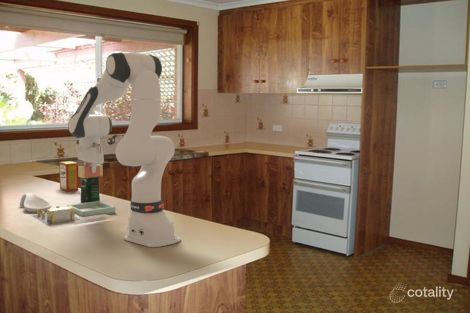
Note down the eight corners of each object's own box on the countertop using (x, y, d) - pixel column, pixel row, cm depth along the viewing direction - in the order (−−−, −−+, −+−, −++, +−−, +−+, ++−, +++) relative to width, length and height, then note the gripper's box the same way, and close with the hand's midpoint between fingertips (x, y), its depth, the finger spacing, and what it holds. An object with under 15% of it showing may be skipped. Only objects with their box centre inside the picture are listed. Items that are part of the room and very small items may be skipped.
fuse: (102, 175, 220) (102, 165, 220) (82, 178, 214) (81, 167, 213) (98, 174, 223) (98, 164, 223) (78, 176, 217) (78, 165, 216)
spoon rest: (55, 213, 219) (55, 198, 218) (29, 217, 211) (29, 201, 210) (36, 204, 236) (35, 190, 235) (11, 207, 228) (10, 192, 227)
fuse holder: (80, 221, 204) (80, 207, 203) (47, 227, 195) (47, 212, 194) (62, 213, 218) (62, 200, 217) (31, 217, 209) (30, 204, 208)
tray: (115, 213, 220) (115, 206, 220) (82, 218, 209) (82, 211, 209) (99, 206, 232) (99, 200, 231) (67, 211, 221) (67, 205, 221)
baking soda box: (78, 190, 271) (77, 162, 269) (67, 191, 267) (66, 163, 265) (70, 187, 278) (70, 160, 276) (59, 188, 274) (59, 161, 272)
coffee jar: (102, 203, 239) (101, 167, 237) (88, 206, 233) (87, 168, 231) (92, 200, 245) (91, 164, 243) (78, 202, 239) (77, 166, 237)
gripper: (107, 143, 211) (107, 174, 213) (86, 139, 226) (87, 168, 228) (93, 144, 207) (94, 175, 209) (74, 140, 222) (74, 169, 224)
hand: (90, 171), depth 218 cm, fingers closed on fuse, 4 cm apart
